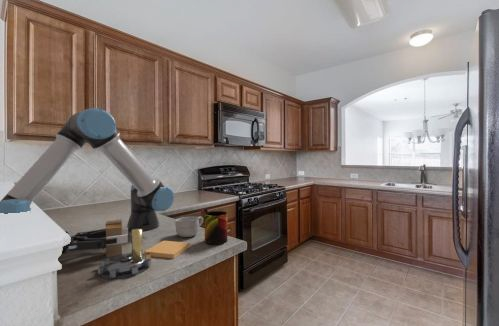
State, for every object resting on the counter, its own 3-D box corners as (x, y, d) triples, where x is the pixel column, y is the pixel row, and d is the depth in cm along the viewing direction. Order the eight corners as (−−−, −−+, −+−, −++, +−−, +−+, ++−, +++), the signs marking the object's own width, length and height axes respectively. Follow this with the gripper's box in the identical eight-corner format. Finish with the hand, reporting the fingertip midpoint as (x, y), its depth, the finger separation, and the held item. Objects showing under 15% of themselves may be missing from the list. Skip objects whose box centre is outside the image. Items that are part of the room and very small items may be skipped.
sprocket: (92, 266, 75) (92, 229, 75) (141, 253, 86) (140, 220, 86) (106, 283, 65) (105, 240, 65) (159, 265, 76) (159, 228, 76)
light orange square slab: (163, 244, 97) (163, 240, 97) (190, 246, 94) (190, 242, 94) (144, 255, 85) (144, 251, 85) (173, 258, 83) (173, 254, 83)
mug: (223, 234, 111) (223, 208, 110) (229, 243, 97) (229, 215, 97) (202, 236, 108) (202, 210, 108) (206, 246, 94) (205, 216, 94)
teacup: (180, 241, 101) (179, 222, 101) (172, 234, 110) (171, 217, 110) (209, 235, 109) (209, 217, 109) (199, 229, 118) (199, 213, 118)
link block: (107, 252, 88) (106, 220, 88) (122, 250, 91) (122, 219, 91) (105, 257, 84) (105, 224, 84) (121, 254, 86) (121, 222, 86)
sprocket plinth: (124, 257, 84) (124, 256, 84) (159, 260, 81) (159, 259, 81) (87, 276, 70) (87, 275, 70) (128, 281, 67) (128, 280, 67)
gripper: (61, 244, 89) (128, 236, 99) (41, 268, 69) (127, 254, 79) (61, 225, 89) (128, 218, 99) (41, 243, 69) (127, 232, 79)
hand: (127, 234), depth 89 cm, fingers open, 9 cm apart
